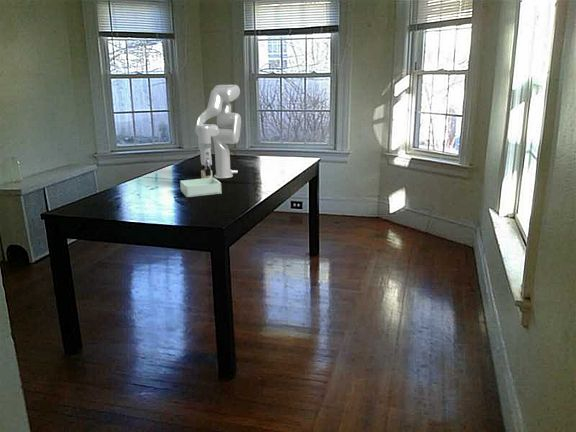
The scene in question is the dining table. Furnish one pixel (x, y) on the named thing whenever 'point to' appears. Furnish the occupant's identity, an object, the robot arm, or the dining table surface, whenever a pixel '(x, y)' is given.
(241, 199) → the dining table surface
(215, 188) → the bin
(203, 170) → the drawer
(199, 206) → the dining table surface
